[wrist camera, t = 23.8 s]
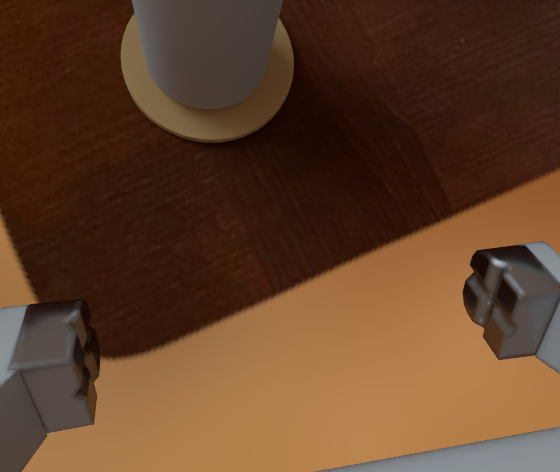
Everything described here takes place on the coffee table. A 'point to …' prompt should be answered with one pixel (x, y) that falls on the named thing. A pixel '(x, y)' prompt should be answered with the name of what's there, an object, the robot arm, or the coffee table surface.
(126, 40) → the coaster
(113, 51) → the coffee table surface
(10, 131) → the coffee table surface
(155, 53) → the beverage can
